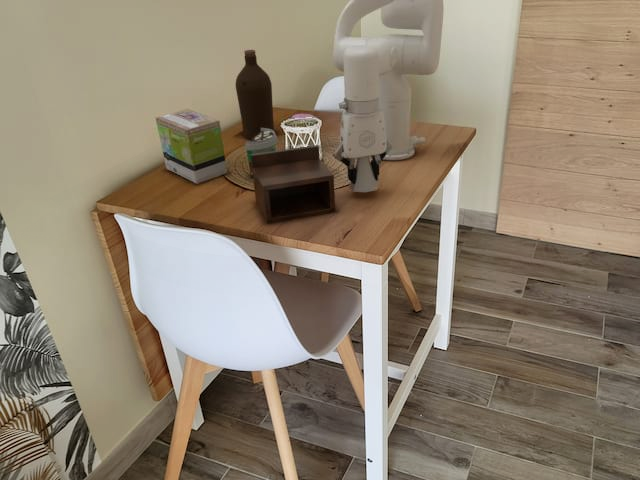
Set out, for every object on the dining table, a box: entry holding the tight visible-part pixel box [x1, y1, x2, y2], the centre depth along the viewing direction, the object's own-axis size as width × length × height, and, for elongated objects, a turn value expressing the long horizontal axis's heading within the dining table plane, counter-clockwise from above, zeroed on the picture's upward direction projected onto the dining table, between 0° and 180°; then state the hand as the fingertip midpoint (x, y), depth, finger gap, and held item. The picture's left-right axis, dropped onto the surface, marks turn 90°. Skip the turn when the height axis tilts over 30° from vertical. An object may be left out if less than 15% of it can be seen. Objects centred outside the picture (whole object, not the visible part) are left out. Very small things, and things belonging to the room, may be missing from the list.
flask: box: [348, 156, 379, 193], centre depth 135 cm, size 7×7×10 cm
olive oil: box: [235, 49, 275, 140], centre depth 172 cm, size 11×11×25 cm
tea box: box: [155, 108, 228, 185], centre depth 149 cm, size 15×10×15 cm
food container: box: [244, 128, 279, 179], centre depth 150 cm, size 12×6×10 cm, turn 168°
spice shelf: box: [250, 144, 336, 224], centre depth 130 cm, size 16×12×12 cm
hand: (363, 179), depth 137 cm, fingers closed on flask, 4 cm apart
